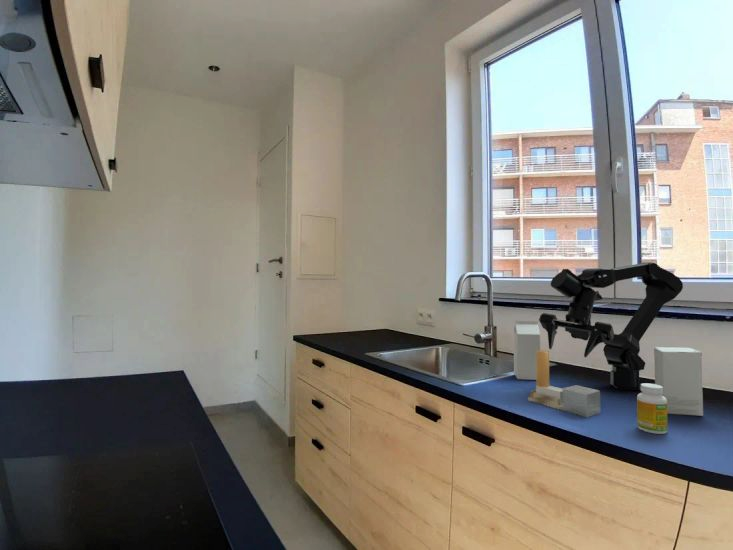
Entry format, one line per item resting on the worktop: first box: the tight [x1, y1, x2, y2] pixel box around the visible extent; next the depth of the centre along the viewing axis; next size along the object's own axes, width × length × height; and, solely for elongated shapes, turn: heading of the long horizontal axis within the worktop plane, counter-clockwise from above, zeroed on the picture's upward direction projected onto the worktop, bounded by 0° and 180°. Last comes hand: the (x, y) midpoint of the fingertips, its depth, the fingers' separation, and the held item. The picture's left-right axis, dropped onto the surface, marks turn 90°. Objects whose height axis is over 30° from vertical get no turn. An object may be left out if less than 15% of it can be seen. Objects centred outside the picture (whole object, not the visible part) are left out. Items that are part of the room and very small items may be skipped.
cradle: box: [527, 389, 563, 411], centre depth 106 cm, size 10×6×2 cm, turn 32°
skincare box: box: [653, 346, 704, 417], centre depth 99 cm, size 8×7×16 cm
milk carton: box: [513, 320, 541, 381], centre depth 134 cm, size 7×7×19 cm
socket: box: [562, 384, 601, 418], centre depth 99 cm, size 6×6×6 cm
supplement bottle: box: [636, 382, 668, 435], centre depth 87 cm, size 5×5×10 cm
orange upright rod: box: [535, 349, 563, 404], centre depth 106 cm, size 8×3×12 cm, turn 32°
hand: (567, 352), depth 112 cm, fingers open, 9 cm apart
